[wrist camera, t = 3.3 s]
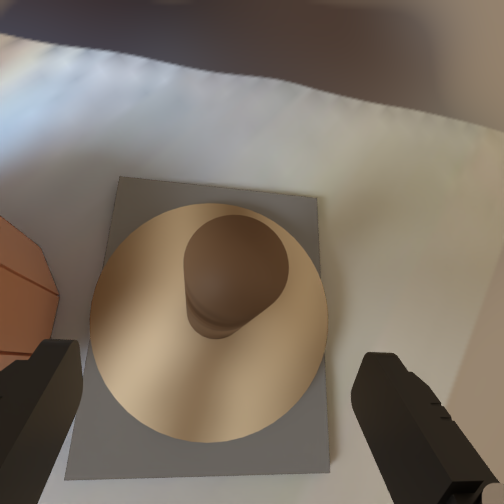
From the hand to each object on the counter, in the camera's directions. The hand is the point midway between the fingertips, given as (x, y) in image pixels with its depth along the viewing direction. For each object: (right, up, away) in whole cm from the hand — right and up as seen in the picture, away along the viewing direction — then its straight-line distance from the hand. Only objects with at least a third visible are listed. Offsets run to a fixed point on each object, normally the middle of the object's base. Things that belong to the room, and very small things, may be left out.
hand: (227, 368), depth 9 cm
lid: (-1, 0, +8) cm, 8 cm away
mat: (-1, 0, +9) cm, 9 cm away
